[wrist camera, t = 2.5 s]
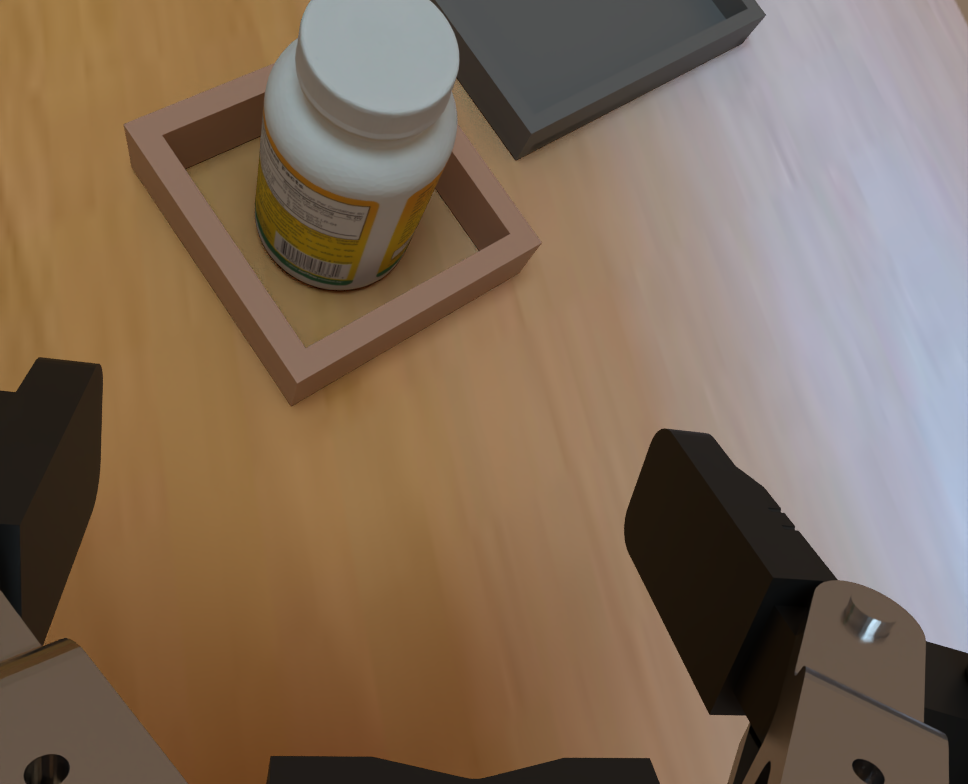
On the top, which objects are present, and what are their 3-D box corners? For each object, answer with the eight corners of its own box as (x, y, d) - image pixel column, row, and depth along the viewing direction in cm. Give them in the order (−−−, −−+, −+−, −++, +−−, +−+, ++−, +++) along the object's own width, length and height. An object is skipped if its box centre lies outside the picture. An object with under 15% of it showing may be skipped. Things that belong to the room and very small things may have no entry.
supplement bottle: (282, 311, 29) (308, 157, 20) (233, 169, 30) (237, -38, 21) (431, 274, 31) (516, 118, 22) (381, 142, 31) (442, -59, 23)
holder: (131, 167, 29) (123, 124, 26) (372, 64, 32) (383, 19, 30) (291, 406, 28) (297, 383, 25) (518, 272, 31) (542, 242, 29)
